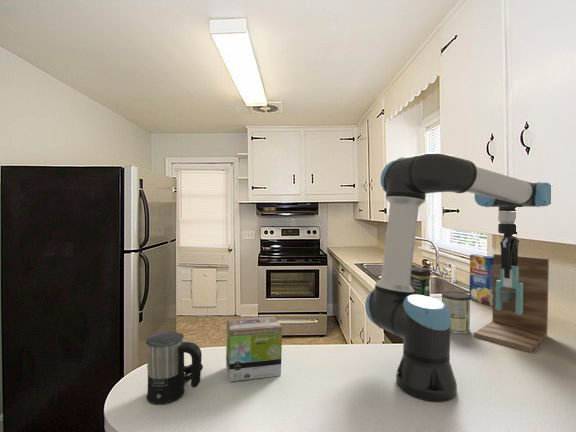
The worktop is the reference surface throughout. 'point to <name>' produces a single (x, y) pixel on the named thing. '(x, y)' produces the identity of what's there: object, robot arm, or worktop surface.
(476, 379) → the worktop surface
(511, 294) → the hook arm
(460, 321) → the coffee can
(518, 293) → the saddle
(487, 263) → the juice carton
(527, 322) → the hook stand
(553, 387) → the worktop surface
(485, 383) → the worktop surface
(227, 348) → the tea box
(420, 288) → the coffee jar
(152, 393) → the milk frother
